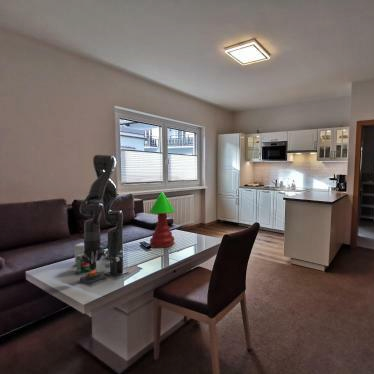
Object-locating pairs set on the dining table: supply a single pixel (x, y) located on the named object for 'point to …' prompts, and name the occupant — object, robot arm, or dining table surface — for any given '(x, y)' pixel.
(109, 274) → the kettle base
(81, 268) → the canned tomato
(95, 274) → the power button
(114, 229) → the robot arm
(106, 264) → the switch
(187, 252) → the dining table surface
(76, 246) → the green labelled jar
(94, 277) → the power block
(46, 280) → the dining table surface
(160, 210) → the table lamp
